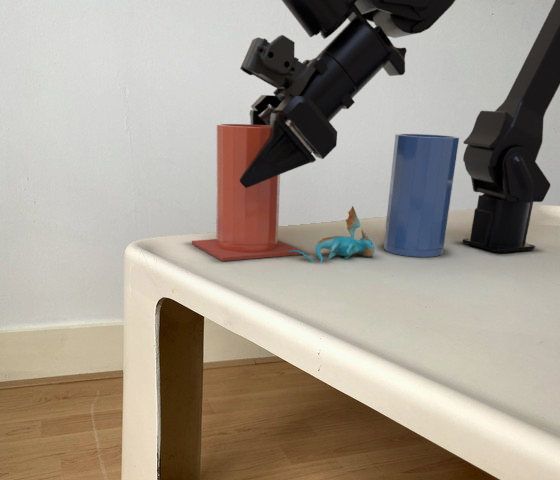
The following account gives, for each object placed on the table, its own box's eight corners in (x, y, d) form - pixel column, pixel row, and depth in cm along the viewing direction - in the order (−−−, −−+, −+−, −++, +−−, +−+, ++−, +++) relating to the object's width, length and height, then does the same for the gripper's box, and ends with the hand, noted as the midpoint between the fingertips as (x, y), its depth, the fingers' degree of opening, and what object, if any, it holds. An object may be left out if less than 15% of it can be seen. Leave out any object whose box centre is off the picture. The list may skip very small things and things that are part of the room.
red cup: (282, 241, 76) (287, 126, 71) (269, 254, 69) (273, 128, 64) (226, 237, 77) (227, 123, 72) (208, 249, 71) (208, 125, 65)
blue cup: (417, 242, 80) (430, 134, 75) (455, 254, 75) (472, 138, 70) (372, 246, 77) (383, 133, 72) (408, 259, 72) (423, 137, 67)
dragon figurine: (351, 264, 65) (388, 225, 69) (293, 229, 67) (332, 193, 71) (337, 305, 70) (372, 266, 75) (284, 272, 72) (321, 235, 76)
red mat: (266, 238, 79) (267, 235, 79) (302, 254, 72) (302, 250, 72) (191, 244, 75) (191, 240, 74) (222, 261, 67) (222, 257, 67)
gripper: (271, 19, 73) (177, 119, 75) (312, -3, 56) (190, 126, 58) (331, 96, 77) (241, 188, 79) (386, 97, 61) (270, 213, 63)
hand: (235, 179), depth 70 cm, fingers open, 9 cm apart
